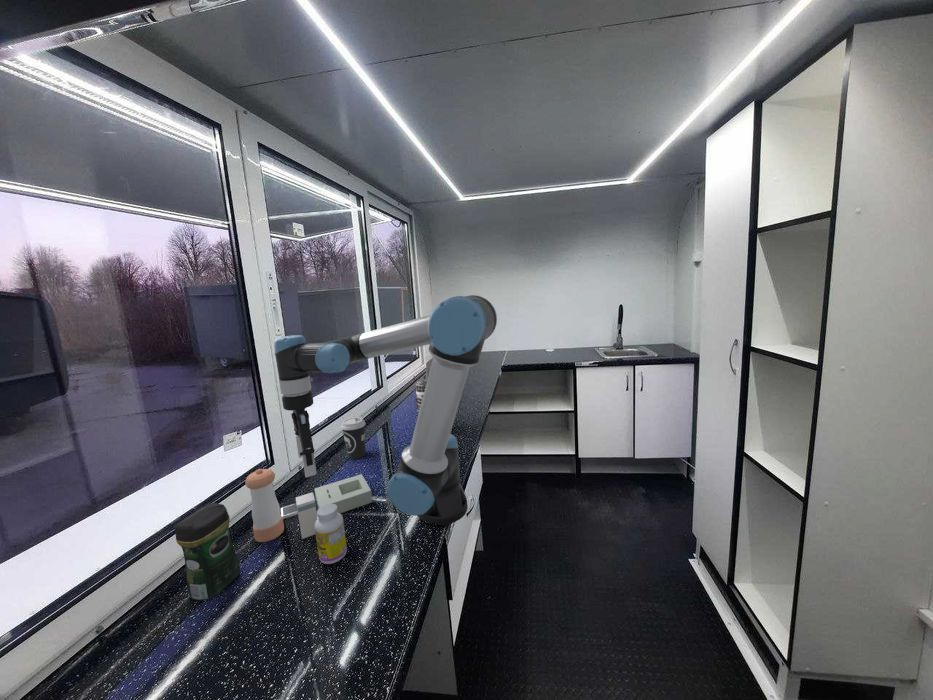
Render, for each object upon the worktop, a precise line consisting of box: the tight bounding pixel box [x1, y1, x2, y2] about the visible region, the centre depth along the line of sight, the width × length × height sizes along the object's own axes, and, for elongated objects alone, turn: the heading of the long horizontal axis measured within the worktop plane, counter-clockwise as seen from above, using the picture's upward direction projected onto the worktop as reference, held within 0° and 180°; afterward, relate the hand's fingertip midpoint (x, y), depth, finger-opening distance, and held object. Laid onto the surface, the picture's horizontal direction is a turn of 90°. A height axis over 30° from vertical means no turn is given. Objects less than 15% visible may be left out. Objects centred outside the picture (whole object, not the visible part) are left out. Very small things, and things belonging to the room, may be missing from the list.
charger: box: [295, 491, 318, 540], centre depth 97 cm, size 4×4×10 cm
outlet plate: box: [314, 473, 373, 514], centre depth 111 cm, size 15×12×4 cm
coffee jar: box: [174, 502, 241, 601], centre depth 79 cm, size 10×8×19 cm
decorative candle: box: [414, 378, 428, 416], centre depth 159 cm, size 9×9×25 cm
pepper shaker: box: [245, 468, 285, 543], centre depth 96 cm, size 7×7×19 cm
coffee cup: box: [340, 416, 366, 460], centre depth 141 cm, size 10×10×15 cm
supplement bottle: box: [315, 504, 348, 565], centre depth 87 cm, size 7×7×13 cm
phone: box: [280, 503, 298, 520], centre depth 108 cm, size 5×9×1 cm, turn 120°
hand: (307, 465), depth 99 cm, fingers open, 13 cm apart
